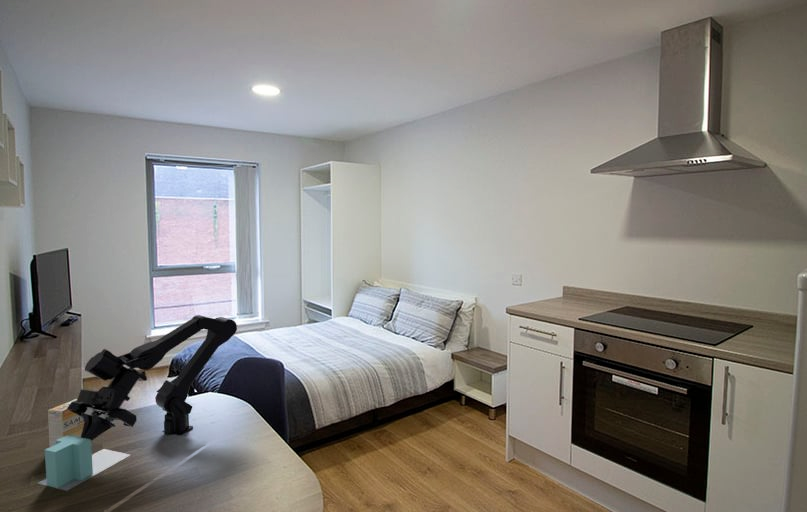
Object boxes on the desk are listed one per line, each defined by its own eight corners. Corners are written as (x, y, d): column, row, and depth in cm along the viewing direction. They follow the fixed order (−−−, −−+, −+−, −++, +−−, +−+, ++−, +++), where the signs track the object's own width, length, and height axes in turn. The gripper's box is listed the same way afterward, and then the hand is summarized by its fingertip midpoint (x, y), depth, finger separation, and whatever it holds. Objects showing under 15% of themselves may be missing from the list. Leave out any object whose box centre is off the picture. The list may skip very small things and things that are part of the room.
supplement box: (63, 457, 119) (61, 411, 118) (49, 455, 120) (46, 409, 119) (90, 443, 127) (88, 399, 126) (77, 441, 128) (75, 398, 127)
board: (103, 451, 122) (103, 448, 122) (131, 457, 119) (130, 454, 119) (37, 485, 106) (37, 482, 106) (66, 493, 103) (66, 490, 103)
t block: (69, 468, 113) (68, 434, 112) (92, 473, 110) (91, 439, 110) (40, 483, 106) (38, 448, 105) (64, 490, 104) (61, 453, 103)
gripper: (73, 371, 118) (29, 428, 108) (125, 379, 112) (84, 440, 103) (102, 389, 126) (63, 444, 116) (152, 397, 120) (116, 456, 111)
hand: (80, 446), depth 111 cm, fingers closed
